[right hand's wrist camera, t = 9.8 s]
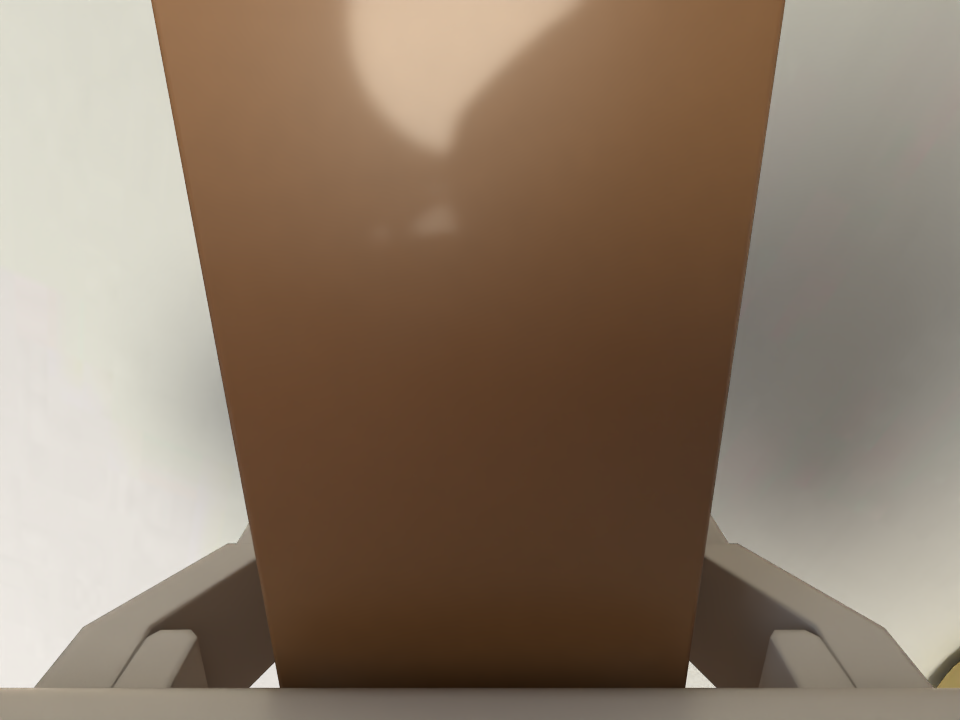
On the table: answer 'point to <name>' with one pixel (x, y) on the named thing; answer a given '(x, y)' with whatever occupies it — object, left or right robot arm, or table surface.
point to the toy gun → (951, 678)
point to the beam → (474, 318)
